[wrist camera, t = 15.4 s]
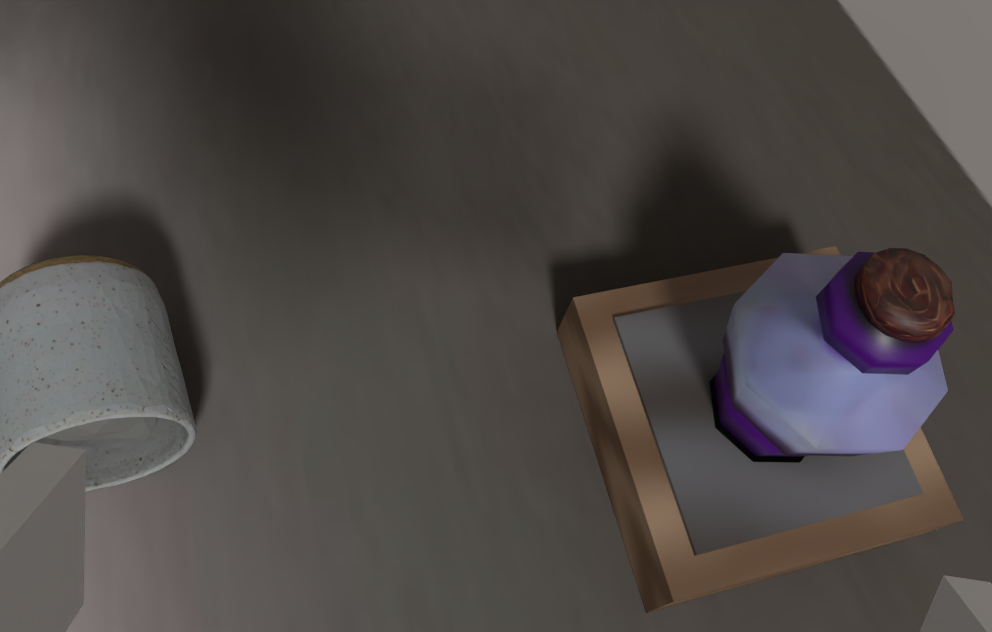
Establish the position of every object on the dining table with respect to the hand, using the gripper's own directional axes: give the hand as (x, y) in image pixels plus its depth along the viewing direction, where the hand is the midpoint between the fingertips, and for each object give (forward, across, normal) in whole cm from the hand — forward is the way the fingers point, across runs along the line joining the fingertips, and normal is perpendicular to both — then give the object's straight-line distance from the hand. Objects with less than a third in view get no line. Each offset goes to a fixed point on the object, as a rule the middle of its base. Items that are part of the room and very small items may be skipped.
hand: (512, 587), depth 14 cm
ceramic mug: (+25, -17, -13) cm, 33 cm away
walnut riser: (+28, +14, -10) cm, 32 cm away
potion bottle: (+25, +14, -7) cm, 29 cm away
